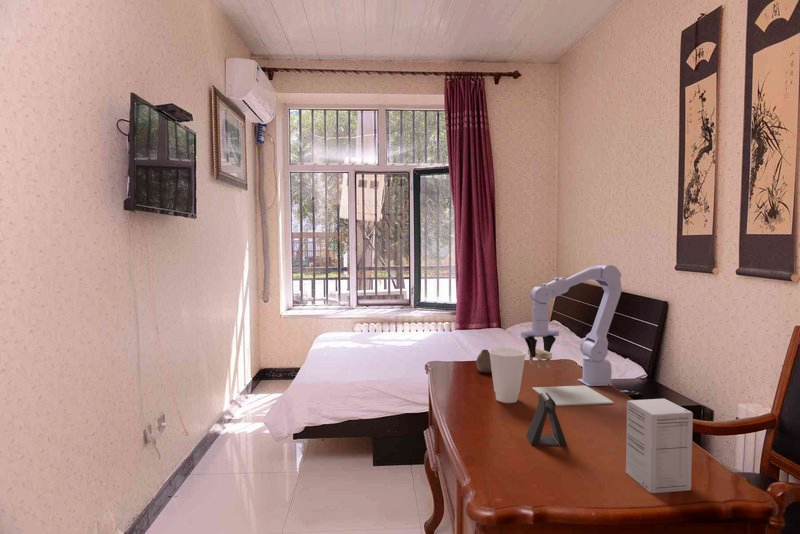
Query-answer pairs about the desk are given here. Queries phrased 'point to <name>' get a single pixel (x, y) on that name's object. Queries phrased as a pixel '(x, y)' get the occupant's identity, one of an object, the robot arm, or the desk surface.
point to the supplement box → (659, 445)
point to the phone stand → (539, 419)
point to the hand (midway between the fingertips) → (539, 356)
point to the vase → (484, 362)
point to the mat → (573, 395)
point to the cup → (507, 373)
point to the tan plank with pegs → (541, 357)
